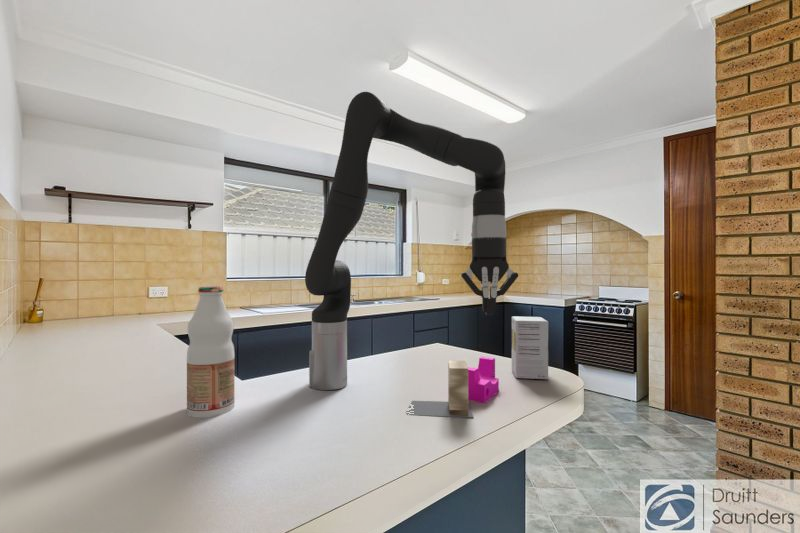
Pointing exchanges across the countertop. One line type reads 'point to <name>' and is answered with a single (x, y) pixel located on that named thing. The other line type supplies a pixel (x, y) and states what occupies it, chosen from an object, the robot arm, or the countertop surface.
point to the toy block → (482, 380)
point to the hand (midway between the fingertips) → (489, 314)
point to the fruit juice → (210, 357)
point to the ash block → (458, 387)
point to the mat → (435, 409)
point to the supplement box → (530, 347)
